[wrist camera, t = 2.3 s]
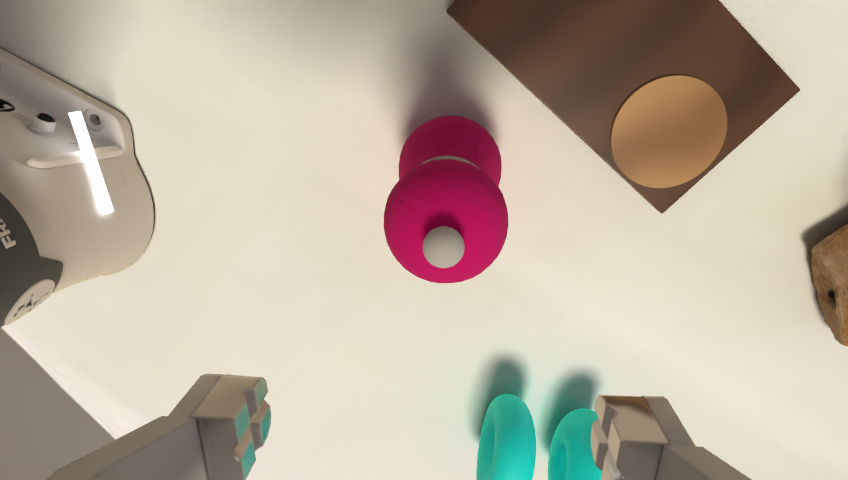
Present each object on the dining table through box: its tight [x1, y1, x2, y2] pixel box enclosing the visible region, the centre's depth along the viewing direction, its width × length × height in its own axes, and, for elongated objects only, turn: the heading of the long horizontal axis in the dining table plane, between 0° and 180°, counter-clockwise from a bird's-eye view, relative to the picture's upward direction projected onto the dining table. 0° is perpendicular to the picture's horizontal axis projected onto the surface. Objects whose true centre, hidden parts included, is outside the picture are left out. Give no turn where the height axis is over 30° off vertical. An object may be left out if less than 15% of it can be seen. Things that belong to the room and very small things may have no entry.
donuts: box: [477, 394, 602, 480], centre depth 42 cm, size 10×10×10 cm
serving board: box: [447, 0, 800, 213], centre depth 34 cm, size 22×12×2 cm, turn 50°
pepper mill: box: [384, 116, 508, 283], centre depth 29 cm, size 7×7×20 cm
